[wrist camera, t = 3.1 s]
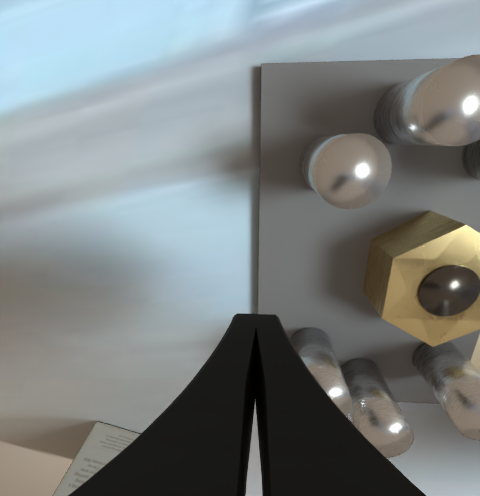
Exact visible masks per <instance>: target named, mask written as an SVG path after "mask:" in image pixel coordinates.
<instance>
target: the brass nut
mask: <svg viewBox="0 0 480 496" xmlns="http://www.w3.org/2000/svg"><path fill="white" fill-rule="evenodd" d="M363 292H364V293H365V295H366V296H367V298H368V299H369V300H370V302H371V303H372V305H373V306H374V308H375V309H376V311H377V312H378V313H379V315H380V316H381V318H382V319H384V320H386V321H388V322H389V323H391V324H393V325H395V326H397V327H398V328H400V329H402V330H404V331H405V332H407V333H409V334H411V335H413V336H414V337H416V338H418V339H420V340H422V341H423V342H425V343H427V344H429V345H431V346H432V347H434V346H437V345H439V344H442V343H445V342H447V341H450V340H453V339H455V338H458V337H461V336H463V335H466V334H469V333H471V332H474V331H477V330H479V329H480V233H479V232H477V231H475V230H474V229H472V228H471V227H469V226H467V225H466V224H463V223H461V222H458V221H456V220H453V219H451V218H448V217H446V216H443V215H441V214H438V213H436V212H433V211H431V210H430V211H428V212H426V213H424V214H422V215H420V216H418V217H416V218H414V219H411V220H409V221H407V222H405V223H403V224H401V225H399V226H397V227H395V228H393V229H391V230H389V231H387V232H384V233H382V234H380V235H378V236H376V237H374V238H372V239H371V243H370V249H369V256H368V262H367V268H366V275H365V281H364V287H363Z"/></svg>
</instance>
